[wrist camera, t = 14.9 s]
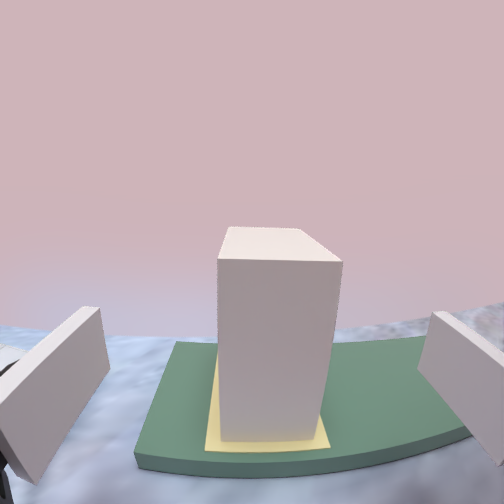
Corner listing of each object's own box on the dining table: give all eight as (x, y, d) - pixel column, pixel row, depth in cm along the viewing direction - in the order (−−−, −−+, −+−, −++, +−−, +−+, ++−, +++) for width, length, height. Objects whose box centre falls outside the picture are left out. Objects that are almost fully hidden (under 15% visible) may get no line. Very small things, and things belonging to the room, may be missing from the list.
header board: (464, 341, 26) (477, 295, 25) (537, 402, 14) (562, 344, 13) (177, 356, 25) (173, 298, 24) (139, 468, 13) (117, 396, 12)
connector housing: (289, 352, 24) (299, 228, 22) (313, 439, 14) (343, 261, 12) (227, 351, 24) (228, 226, 22) (220, 441, 14) (217, 258, 12)
